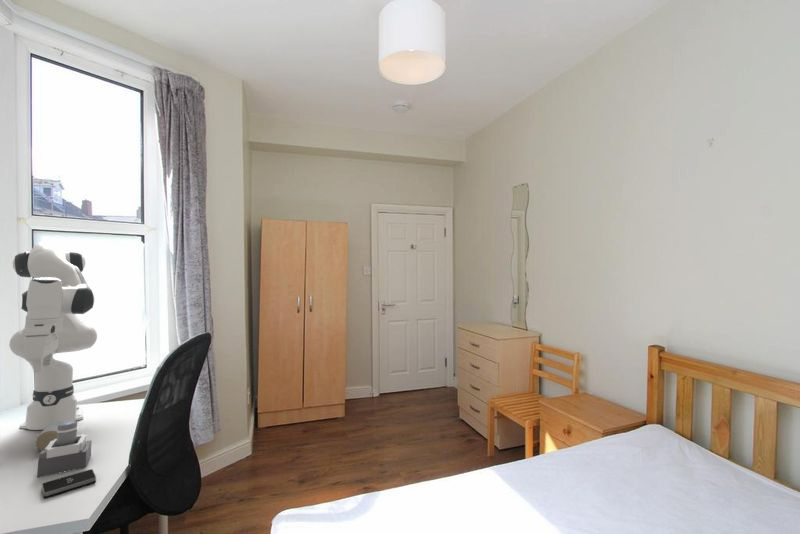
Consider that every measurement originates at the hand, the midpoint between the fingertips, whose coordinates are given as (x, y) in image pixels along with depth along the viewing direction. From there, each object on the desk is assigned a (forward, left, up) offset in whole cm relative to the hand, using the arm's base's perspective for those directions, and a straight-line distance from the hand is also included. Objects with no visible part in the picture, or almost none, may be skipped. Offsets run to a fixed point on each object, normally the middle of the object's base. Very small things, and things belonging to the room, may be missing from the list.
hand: (42, 369), depth 120 cm
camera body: (+10, +8, -29) cm, 32 cm away
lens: (+10, +8, -24) cm, 27 cm away
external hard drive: (+25, +12, -30) cm, 41 cm away
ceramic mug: (-9, +3, -29) cm, 31 cm away
